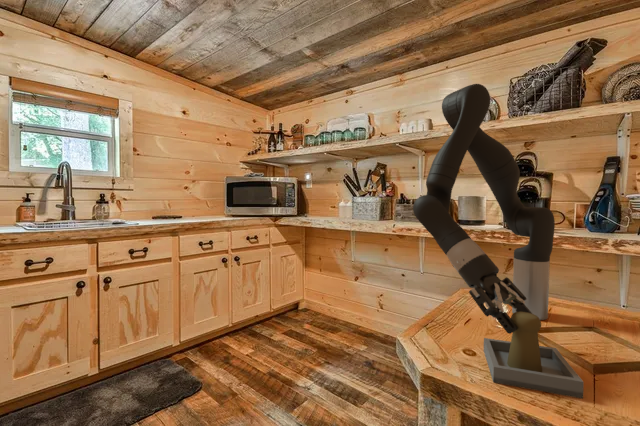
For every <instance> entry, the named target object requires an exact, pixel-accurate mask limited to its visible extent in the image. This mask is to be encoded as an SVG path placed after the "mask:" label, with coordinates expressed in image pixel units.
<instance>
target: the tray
mask: <svg viewBox="0 0 640 426" xmlns="http://www.w3.org/2000/svg"><path fill="white" fill-rule="evenodd" d="M510 344H511V341H508V340H501V339H494V338H488V337H483V353H484V357H485V360H486V363H487V366H488V370H489V373H490V376H491V379H492V382H493V383H495V384H502V385H506V386H513V387H517V388H523V389H529V390H533V391H540V392H543V393H544V392H546V393H550V394H556V395H561V396H565V397H566V396H567V397H572V398H578V399H582V400H583V398H584V387H585V386H584V383H585V382H584V381H583V379H582V378H581V377H580V375H579V374H578V372H576V370H574V368H573V367H572V366H571V365H570V363H569V362H568V361H567V359H565V357H564V356H563V355H562V354H561V352H560V351H559V350H558V348H557V347H551V346H545V345H539V349H540V357H541V365H542V372H536V371H530V370H524V369H518V368H512V367H509V366H508V364H507V360H508V355H509V350H510Z"/></svg>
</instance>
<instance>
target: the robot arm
mask: <svg viewBox="0 0 640 426" xmlns="http://www.w3.org/2000/svg"><path fill="white" fill-rule="evenodd" d="M441 103H442V104H441V110H442V111H441V112H442V114H443V117H444V120H445V121H446V122H447V124H448V125H449V127H450V128H451V129H452V132H451V134H450V135H449V136H448V139H447V140H446V141H445V142H444V143H443V145H442V146H441V147H440V148H439V150H438V152H437V153H436V155H435V157H434V159H432V160H433V161H432V163H431V167H430V169H429V171H428V174H427V178H426V183H425V187H426V194H424V195H423V194H422V195H421V196H419V197H417V198H416V199H415V201H414V202H413V205H412V211H413V215H414V217H415V218H416V219H417V220H418V222H419V223H420V224H421V225H422V226H423V228H425V230H426V231H427V232H428V233H429V234H430V235H431V236H432V237H433V239H434V240H435V242H436V243H437V245H438V247H439V248H440V249H441V250H442V252H443V253H444V254H445V256H446V257H447V258H448V260H449V262H450V263H451V265H452V266H453V268H454V269H455V270H456V272H457V273H458V274H459V276H460V277H461V278H462V279H463V281H464V282H465V284H466V285H467V286H468V287H469V288H470V290H468V294H469V295H470V297H471V298H472V299H473V300H474V302H475V304H476V305H477V306H478V307H479V308H480V310H481V311H482V313H483V315H484V316H485V317H490V316H491V317H492V318H495V319H496V321H498V323H499V324H500V325H501V327H502V329H504V330H505V332H506V333H507V334H509V335H510V334H511V335H512V334H513V332H514V331H516V330H517V329H518V327H517V326H516V324H515V323H514V322H513V321H512V319H511V316H509V314H508V313H507V312H506V311H505V310H504V307H503V304H504V305H509V306H510V307H511V313H512V314H513V313H515V312H528V313H532V314H534V315H536V316H538V317H539V319H540V321H543V320H547V319H549V294H550V291H549V290H550V262H551V261H550V260H551V255H552V251H553V246H554V236H555V235H554V234H555V227H556V225H555V224H556V223H555V222H556V221H555V216H554V214H553V212H552V210H551V209H549V208H547V207H540V206H539V207H538V206H535V207H534V206H525V205H524V204H523V203H522V201H521V199H520V198H519V196H518V186H519V182H520V177H521V171H520V167H519V166H518V163H517V161H516V159H515V158H514V155H513V154H512V153H511V150H510V149H509V148H508V147H506V146H505V145H504V144H502V143H501V142H500V141H498V140H496V139H495V138H493V137H492V136H490V135H489V134H488V133H486V132H485V131H484V130H483V129H482V128H481V125H482V124H483V121H484V120H485V118H486V116H487V113H488V111H489V109H490V105H491V95H490V92H489V90H488V89H487V88H486V86H484V85H482V84H480V83H474V84H469V85H467V86H465V87H462V88H459V89H458V90H456V91H453V92H450V93H448V94H447V95H446V96H445V97H444V98H443V99H442V102H441ZM467 151H468V154H469V155H470V157H471V159H472V160H473V161H474V164H476V167H477V169H478V170H479V172H480V174H481V176H482V178H483V179H484V181H485V182H486V184H487V186H488V187H489V189H490V191H491V193H492V194H493V196H494V198H495V200H496V202H497V204H498V206H499V208H500V210H501V212H502V215H503V217H504V220H505V222H506V224H507V226H508V227H509V230H510V231H511V232H512V233H513V234H514V235H517V236H520V237H525V238H526V237H527V238H529V240H528V244H526V245H524V246H520V247H518V248H517V247H516V248H515V249H514V251H513V266H512V267H513V273H512V275H513V276H512V280H511V279H510V278H509V277H506V276H505V278H503V279H501V278H499V276H498V273H499V271H500V269H499V267H498V266H497V265H496V263H494V261H493V260H492V259H491V258H490V256H489V255H488V254H487V253H486V252H485V251H484V250H483V248H481V247H480V246H479V244H477V242H476V241H475V240H473V239H472V238H471V236H470V235H469V234H468V233H467V232H466V230H464V228H463V227H462V226H461V225H460V224H458V223H457V222H456V220H455V219H454V218H453V217H452V216H451V214H450V213H449V210H450V204H451V201H452V200H451V199H452V193H453V188H454V186H455V184H456V181H457V178H458V175H459V171H460V168H461V165H462V163H463V161H464V159H465V155H466V153H467ZM484 304H485V305H484Z"/></svg>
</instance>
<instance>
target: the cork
mask: <svg viewBox="0 0 640 426" xmlns="http://www.w3.org/2000/svg"><path fill="white" fill-rule="evenodd" d="M510 318H511V319H512V321H513V322H514V323H515V324H516V326H517V327H518V329H517V330H516V331H514V332H513V333H511V339H510V342H511V344H510V350H509V355H508V360H507V364H508V366H509V367H512V368H518V369H524V370H530V371H536V372H542V365H541V357H540V349H539V346H540V344H539V343H540V342H539V336H538V335H539V334H538V332H539V331H540V330H541V327H542V322H541V321H542V320H540V319H539V317H538V316H536V315H534V314H532V313H528V312H515V313H513V312H512V314H511V316H510Z"/></svg>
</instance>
